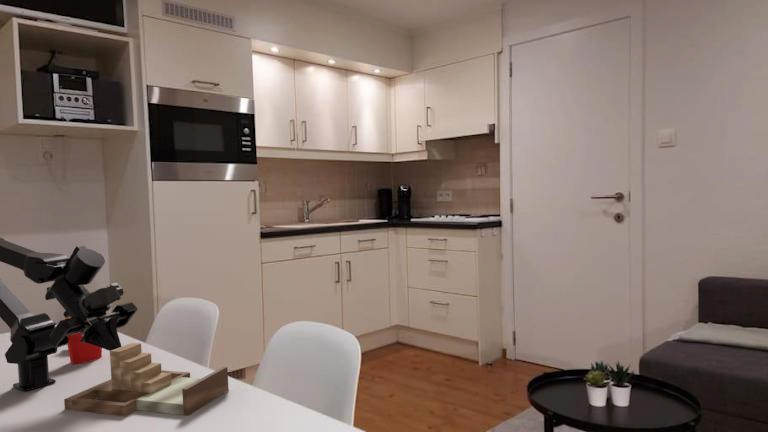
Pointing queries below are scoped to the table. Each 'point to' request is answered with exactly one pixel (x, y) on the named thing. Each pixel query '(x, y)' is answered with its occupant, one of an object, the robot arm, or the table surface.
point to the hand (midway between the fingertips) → (120, 351)
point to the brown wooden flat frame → (153, 396)
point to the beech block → (136, 370)
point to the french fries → (82, 349)
